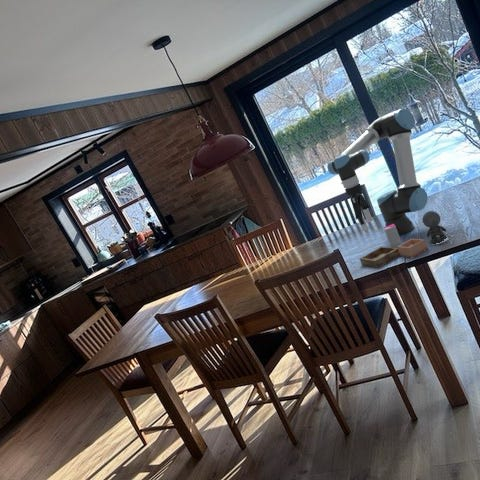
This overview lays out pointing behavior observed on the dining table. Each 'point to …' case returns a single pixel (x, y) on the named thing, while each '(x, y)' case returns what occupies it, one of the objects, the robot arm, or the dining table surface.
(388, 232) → the supplement box
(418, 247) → the tan square open box
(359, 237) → the dining table surface
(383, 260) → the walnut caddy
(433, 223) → the figurine
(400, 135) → the robot arm
